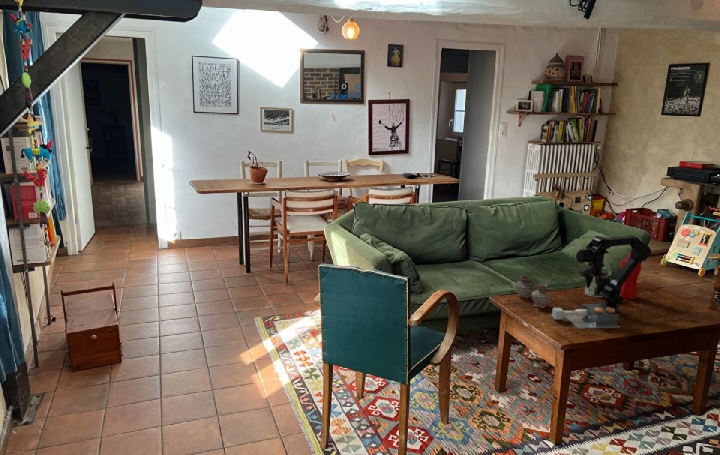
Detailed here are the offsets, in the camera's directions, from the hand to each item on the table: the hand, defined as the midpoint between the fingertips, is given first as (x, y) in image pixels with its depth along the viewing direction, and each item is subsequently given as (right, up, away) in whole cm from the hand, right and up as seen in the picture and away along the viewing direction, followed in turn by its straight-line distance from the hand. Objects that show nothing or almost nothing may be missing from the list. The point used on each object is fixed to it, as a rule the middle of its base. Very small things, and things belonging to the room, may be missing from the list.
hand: (592, 291), depth 268 cm
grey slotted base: (-4, -14, -7) cm, 16 cm away
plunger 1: (-3, -10, -12) cm, 16 cm away
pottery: (-25, -8, +18) cm, 32 cm away
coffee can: (+14, -5, +29) cm, 33 cm away
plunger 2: (+3, -10, -11) cm, 15 cm away
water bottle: (+29, -6, +26) cm, 40 cm away
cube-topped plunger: (-13, -12, -6) cm, 18 cm away
